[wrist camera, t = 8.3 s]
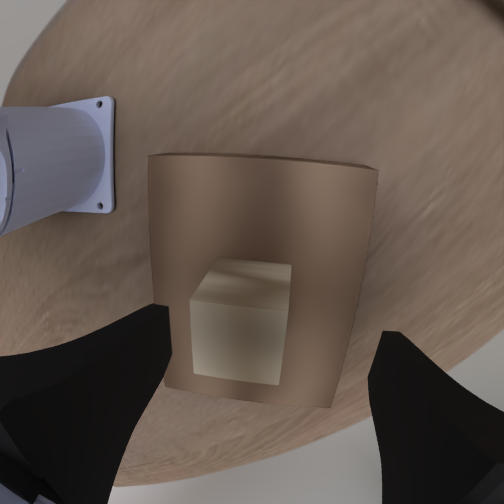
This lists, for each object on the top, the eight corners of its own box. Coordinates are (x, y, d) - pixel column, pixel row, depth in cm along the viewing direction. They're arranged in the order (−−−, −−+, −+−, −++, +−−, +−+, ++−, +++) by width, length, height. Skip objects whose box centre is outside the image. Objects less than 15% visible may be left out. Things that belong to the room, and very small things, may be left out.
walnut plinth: (177, 362, 24) (165, 386, 22) (168, 152, 19) (148, 155, 16) (328, 381, 23) (330, 408, 20) (366, 165, 18) (378, 170, 15)
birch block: (217, 320, 19) (193, 373, 14) (217, 257, 18) (189, 299, 13) (284, 327, 19) (278, 385, 14) (291, 264, 17) (288, 311, 13)
